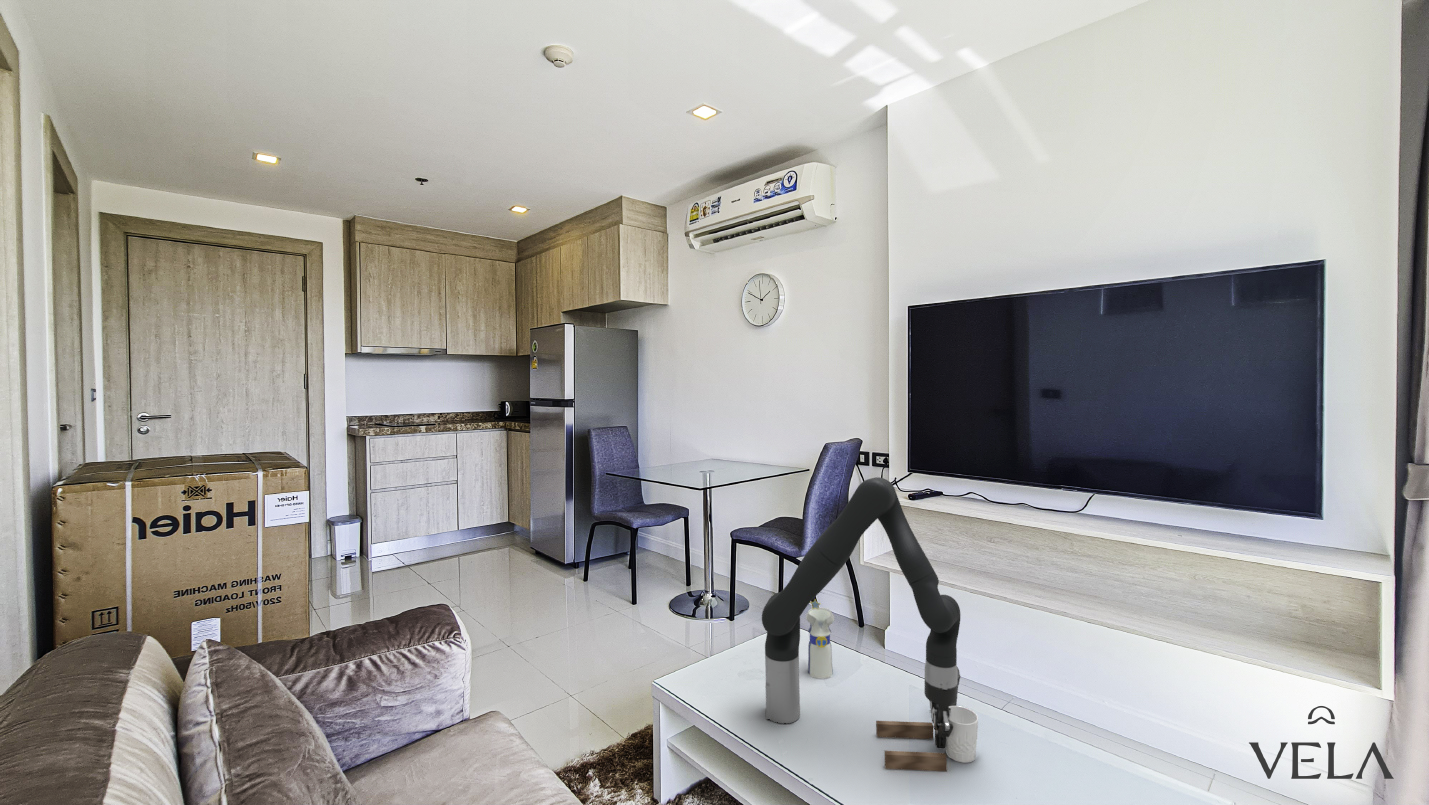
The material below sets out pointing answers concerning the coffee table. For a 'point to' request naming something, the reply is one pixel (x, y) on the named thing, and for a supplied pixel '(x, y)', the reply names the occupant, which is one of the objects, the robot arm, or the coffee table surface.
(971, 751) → the white cup
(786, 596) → the robot arm
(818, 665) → the white and blue figurine
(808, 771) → the coffee table surface
